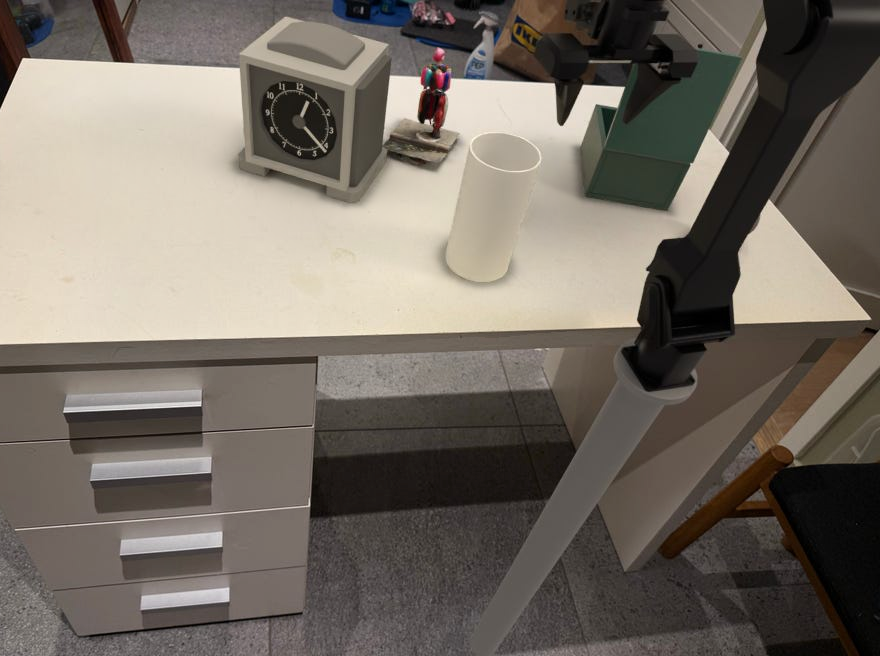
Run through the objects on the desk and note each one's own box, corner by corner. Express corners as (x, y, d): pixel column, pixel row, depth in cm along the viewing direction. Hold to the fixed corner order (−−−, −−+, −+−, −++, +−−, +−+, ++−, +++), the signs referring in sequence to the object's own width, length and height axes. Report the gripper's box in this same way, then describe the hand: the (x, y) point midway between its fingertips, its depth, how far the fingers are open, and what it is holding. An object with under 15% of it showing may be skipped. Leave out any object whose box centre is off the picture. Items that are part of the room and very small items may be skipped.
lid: (642, 38, 83) (643, 40, 82) (740, 55, 83) (742, 57, 82) (603, 145, 93) (604, 148, 92) (691, 161, 93) (692, 163, 92)
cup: (434, 265, 84) (457, 154, 72) (460, 233, 89) (486, 124, 77) (493, 291, 82) (527, 181, 70) (516, 256, 87) (551, 148, 75)
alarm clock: (235, 167, 93) (224, 34, 79) (276, 125, 102) (273, -2, 88) (356, 204, 91) (367, 74, 77) (388, 158, 99) (403, 33, 86)
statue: (402, 130, 107) (417, 31, 98) (457, 145, 106) (477, 47, 96) (378, 154, 99) (392, 50, 89) (437, 171, 98) (457, 67, 88)
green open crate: (579, 148, 108) (595, 103, 102) (655, 162, 108) (676, 117, 102) (584, 196, 99) (602, 149, 93) (667, 210, 99) (690, 165, 93)
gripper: (676, -36, 79) (627, 90, 90) (534, -41, 74) (502, 92, 86) (729, 3, 72) (668, 134, 84) (576, 0, 67) (534, 139, 79)
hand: (592, 123), depth 83 cm, fingers open, 9 cm apart
